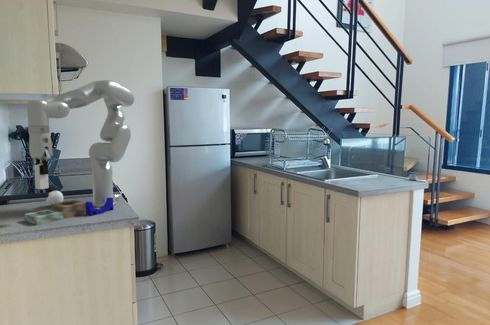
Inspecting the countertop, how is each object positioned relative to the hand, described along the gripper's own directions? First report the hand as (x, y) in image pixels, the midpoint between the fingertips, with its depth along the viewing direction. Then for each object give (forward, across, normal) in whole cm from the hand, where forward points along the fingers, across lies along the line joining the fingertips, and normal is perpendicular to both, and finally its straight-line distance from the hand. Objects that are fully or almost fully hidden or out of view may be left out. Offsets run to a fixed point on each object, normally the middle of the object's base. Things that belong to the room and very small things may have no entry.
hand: (41, 173), depth 145 cm
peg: (+6, 0, 0) cm, 6 cm away
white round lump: (+20, +20, -16) cm, 33 cm away
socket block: (+20, 0, -6) cm, 21 cm away
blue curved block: (+20, -9, -21) cm, 31 cm away
